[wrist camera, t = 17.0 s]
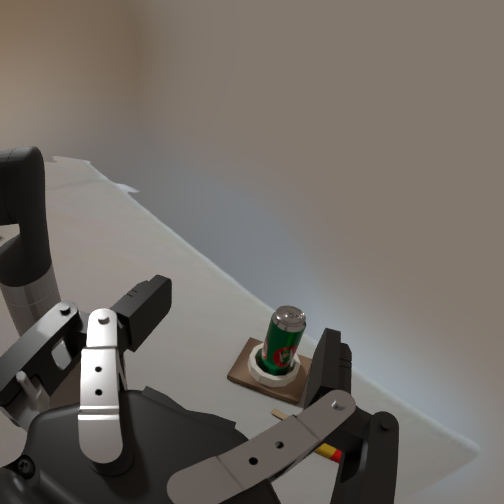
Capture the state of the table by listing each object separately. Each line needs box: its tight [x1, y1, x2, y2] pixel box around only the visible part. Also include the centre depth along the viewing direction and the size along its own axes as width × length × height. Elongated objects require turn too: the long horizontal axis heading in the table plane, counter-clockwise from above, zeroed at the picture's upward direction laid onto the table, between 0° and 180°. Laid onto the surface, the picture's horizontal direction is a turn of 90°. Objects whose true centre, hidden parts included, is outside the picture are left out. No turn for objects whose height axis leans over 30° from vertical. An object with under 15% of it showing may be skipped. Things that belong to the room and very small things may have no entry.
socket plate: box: [227, 337, 312, 405], centre depth 43 cm, size 12×10×3 cm
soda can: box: [258, 306, 306, 376], centre depth 41 cm, size 5×5×12 cm
